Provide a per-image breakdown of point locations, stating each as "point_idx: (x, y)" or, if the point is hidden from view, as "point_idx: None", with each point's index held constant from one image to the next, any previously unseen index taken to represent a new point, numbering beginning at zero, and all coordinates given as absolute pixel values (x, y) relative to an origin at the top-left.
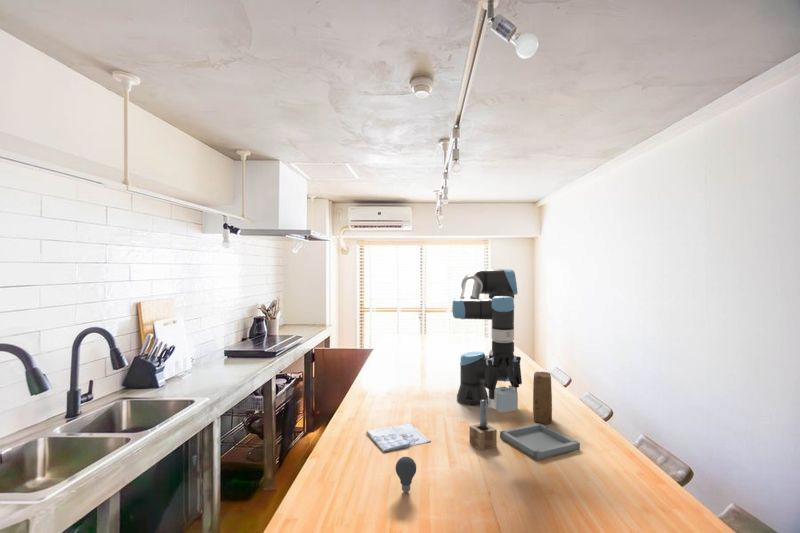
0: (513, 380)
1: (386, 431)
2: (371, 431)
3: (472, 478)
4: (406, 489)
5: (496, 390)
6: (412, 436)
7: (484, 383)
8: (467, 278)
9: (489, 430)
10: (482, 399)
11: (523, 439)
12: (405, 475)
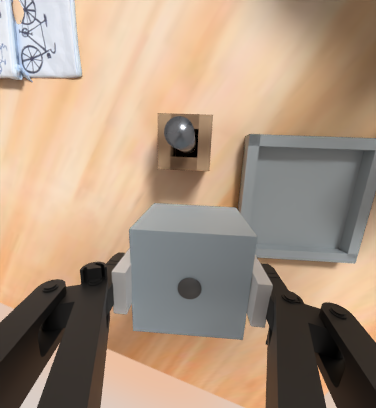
0: (268, 375)
1: None
2: None
3: (93, 243)
4: None
5: (121, 313)
6: (45, 26)
7: (26, 304)
8: None
9: (189, 166)
10: (183, 118)
11: (281, 175)
12: None
